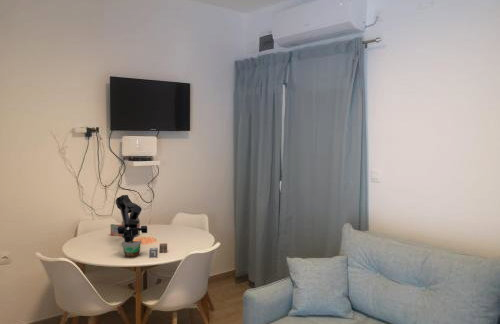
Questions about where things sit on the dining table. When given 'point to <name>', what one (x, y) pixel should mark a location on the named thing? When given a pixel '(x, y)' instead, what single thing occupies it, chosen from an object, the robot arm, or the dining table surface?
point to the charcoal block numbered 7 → (153, 252)
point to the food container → (131, 248)
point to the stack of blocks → (115, 226)
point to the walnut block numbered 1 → (163, 248)
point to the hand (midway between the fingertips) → (131, 241)
